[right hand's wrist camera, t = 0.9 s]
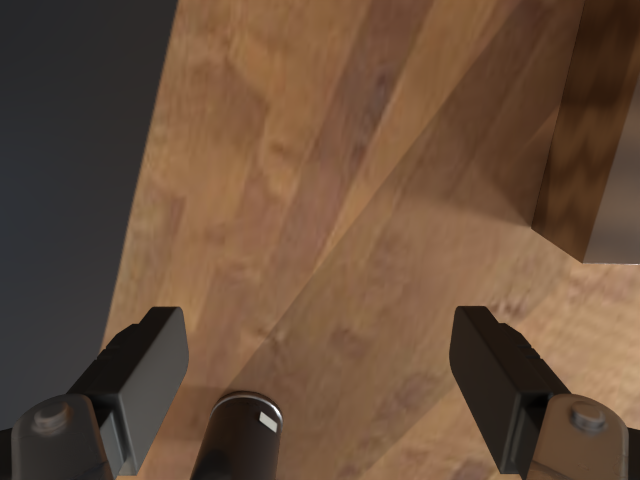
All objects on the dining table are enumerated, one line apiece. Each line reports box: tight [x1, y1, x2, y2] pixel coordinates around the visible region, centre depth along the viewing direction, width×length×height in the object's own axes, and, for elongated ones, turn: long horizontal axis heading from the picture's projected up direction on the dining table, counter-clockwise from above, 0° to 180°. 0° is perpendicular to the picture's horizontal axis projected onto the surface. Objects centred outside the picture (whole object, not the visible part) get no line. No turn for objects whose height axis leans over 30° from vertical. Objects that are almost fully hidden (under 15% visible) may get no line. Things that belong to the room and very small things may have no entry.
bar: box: [531, 0, 640, 265], centre depth 32 cm, size 26×5×9 cm, turn 179°
